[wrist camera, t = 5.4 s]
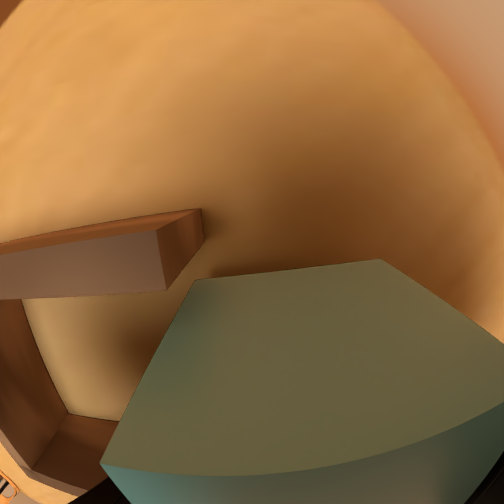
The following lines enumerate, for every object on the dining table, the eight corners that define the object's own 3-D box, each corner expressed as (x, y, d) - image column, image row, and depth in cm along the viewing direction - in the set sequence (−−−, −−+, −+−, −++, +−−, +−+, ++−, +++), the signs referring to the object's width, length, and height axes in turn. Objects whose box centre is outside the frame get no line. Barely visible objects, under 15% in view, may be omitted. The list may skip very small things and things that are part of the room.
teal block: (367, 414, 11) (422, 545, 4) (228, 433, 11) (217, 580, 4) (380, 258, 9) (542, 376, 2) (195, 280, 9) (99, 463, 2)
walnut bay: (240, 440, 13) (237, 521, 8) (62, 424, 13) (28, 477, 8) (200, 208, 10) (155, 229, 5) (-6, 244, 10) (-77, 271, 6)
